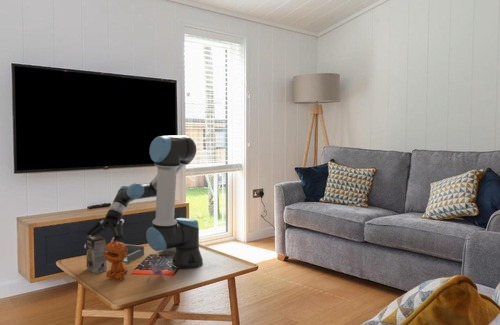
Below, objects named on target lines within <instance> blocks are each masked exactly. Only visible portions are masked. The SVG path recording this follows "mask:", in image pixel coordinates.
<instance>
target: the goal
mask: <svg viewBox="0 0 500 325" xmlns="http://www.w3.org/2000/svg"><path fill="white" fill-rule="evenodd" d="M124 244H125V245H126V246H125V247H127V248H128V255H127V254H126V255H127V257H126V258H124V261H122V263H131V262H132V261H133V262H134V261H135V260H137V259H139V258H141V257H143V256H145V246H144V245H140V244H139V245H138V244H127V243H124ZM127 248H126V249H127ZM109 252H110V251H109ZM126 252H127V251H126ZM106 253H107V251H106ZM112 253H114V252H112ZM106 261H107V259H106Z"/></svg>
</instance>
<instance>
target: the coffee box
mask: <svg viewBox="0 0 500 325" xmlns="http://www.w3.org/2000/svg"><path fill="white" fill-rule="evenodd" d="M106 240H107V239H106V237H104V236H102V235H99V234H97V235H95V236H88V235H87V236H85V244H86V248H85V252H86V270H87V271H89V272H91V273H93V274H98V273H103V272H107V260H106V259H105V257H104V254H103V253H106V249H105V246H106V245H107V243H106V242H107V241H106Z"/></svg>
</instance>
